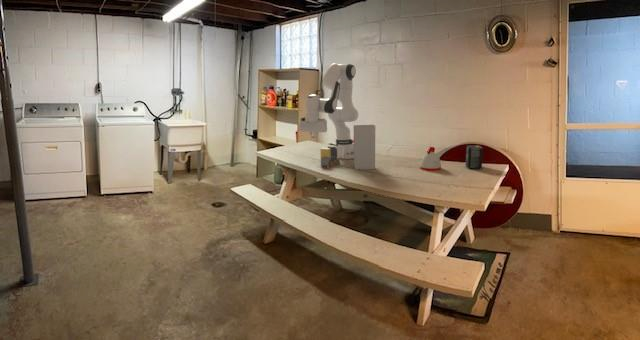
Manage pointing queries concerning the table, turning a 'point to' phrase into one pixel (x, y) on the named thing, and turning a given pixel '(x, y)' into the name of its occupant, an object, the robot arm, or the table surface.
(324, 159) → the bookend
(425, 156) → the grey and red dome
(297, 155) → the table surface
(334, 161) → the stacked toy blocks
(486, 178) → the table surface
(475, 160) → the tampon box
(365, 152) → the tall grey box
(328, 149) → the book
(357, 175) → the table surface
